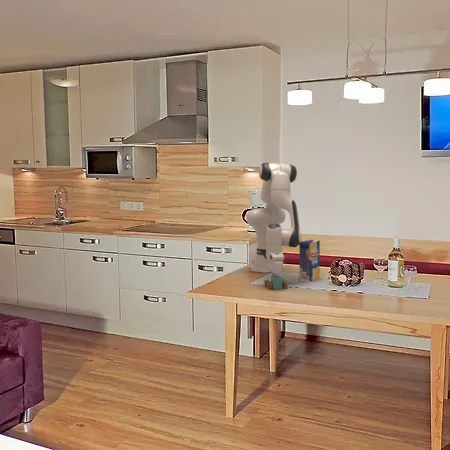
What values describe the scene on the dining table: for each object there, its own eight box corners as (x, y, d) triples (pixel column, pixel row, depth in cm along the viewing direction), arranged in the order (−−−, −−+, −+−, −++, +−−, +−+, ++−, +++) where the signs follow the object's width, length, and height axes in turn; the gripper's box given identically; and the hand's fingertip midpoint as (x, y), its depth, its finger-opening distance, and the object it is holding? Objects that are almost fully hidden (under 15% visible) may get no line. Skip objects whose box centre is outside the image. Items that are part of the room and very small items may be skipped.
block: (270, 287, 310) (270, 276, 309) (279, 286, 311) (279, 275, 310) (273, 289, 305) (273, 278, 304) (282, 288, 306) (282, 277, 305)
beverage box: (319, 278, 330) (319, 240, 328) (309, 281, 322) (309, 242, 319) (309, 276, 335) (309, 239, 332) (299, 280, 326) (299, 241, 324)
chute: (264, 286, 313) (264, 279, 312) (283, 285, 314) (282, 278, 314) (268, 289, 304) (268, 283, 303) (287, 288, 306) (287, 282, 305)
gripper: (264, 251, 319) (264, 275, 321) (273, 257, 299) (273, 283, 301) (275, 251, 321) (275, 275, 322) (285, 257, 300) (285, 282, 302)
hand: (274, 279), depth 311 cm, fingers closed
